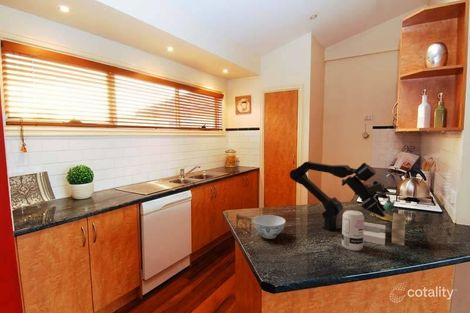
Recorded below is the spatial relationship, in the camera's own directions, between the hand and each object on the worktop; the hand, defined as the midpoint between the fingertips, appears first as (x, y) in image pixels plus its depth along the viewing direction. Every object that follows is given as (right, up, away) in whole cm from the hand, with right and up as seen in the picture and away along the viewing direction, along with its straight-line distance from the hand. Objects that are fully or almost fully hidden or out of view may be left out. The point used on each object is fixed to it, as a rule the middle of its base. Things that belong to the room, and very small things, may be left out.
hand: (384, 213), depth 113 cm
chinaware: (-51, -12, +6) cm, 53 cm away
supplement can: (-18, -13, -6) cm, 23 cm away
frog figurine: (+19, -10, +29) cm, 36 cm away
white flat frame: (-3, -12, +6) cm, 13 cm away
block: (+5, -12, -2) cm, 13 cm away
